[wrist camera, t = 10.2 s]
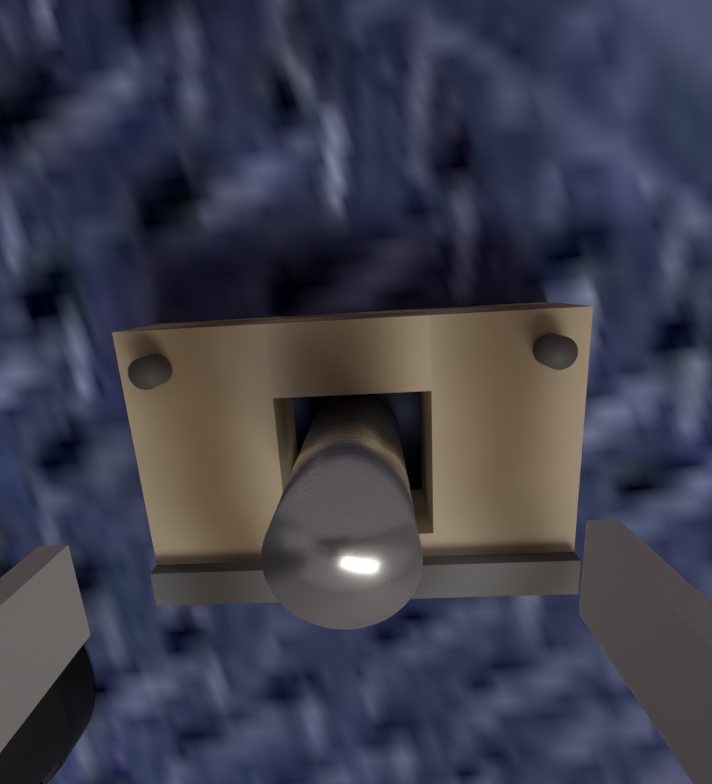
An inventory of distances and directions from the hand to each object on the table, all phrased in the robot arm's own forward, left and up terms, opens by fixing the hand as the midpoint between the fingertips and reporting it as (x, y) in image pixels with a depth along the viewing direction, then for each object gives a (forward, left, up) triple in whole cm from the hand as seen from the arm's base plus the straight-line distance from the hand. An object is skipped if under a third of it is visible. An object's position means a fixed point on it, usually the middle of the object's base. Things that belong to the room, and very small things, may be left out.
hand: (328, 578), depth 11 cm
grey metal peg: (0, 0, -11) cm, 11 cm away
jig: (0, 0, -11) cm, 11 cm away
